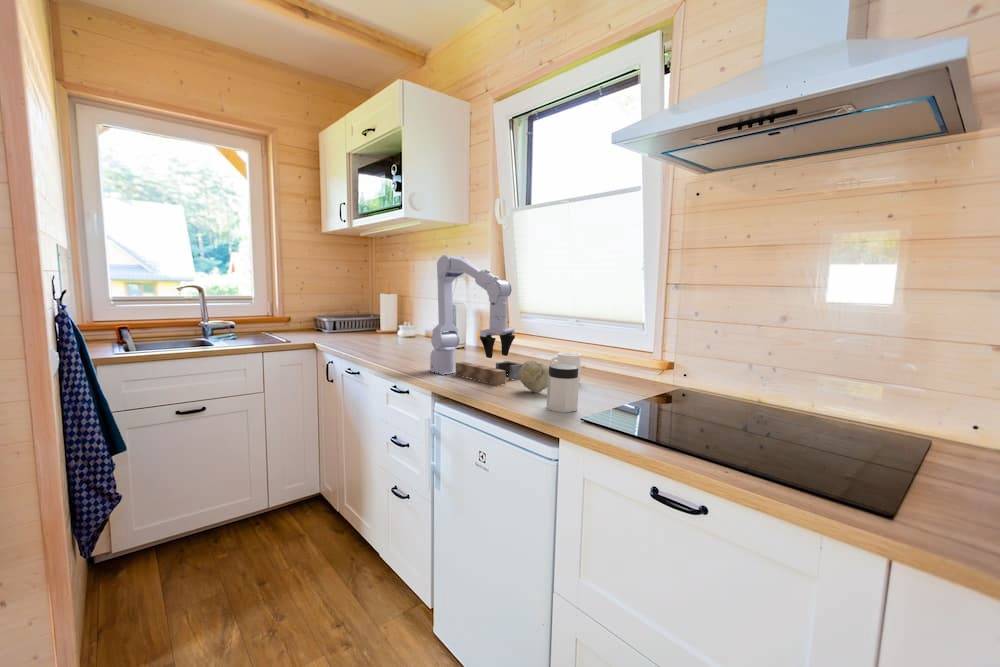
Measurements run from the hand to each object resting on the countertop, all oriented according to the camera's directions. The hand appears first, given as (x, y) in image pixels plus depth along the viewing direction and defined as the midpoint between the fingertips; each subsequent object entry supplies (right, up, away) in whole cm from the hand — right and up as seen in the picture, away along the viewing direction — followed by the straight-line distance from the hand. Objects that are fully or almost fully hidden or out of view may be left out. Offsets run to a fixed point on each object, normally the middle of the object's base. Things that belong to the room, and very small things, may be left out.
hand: (497, 356), depth 149 cm
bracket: (+4, -8, +15) cm, 17 cm away
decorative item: (+12, -11, -7) cm, 18 cm away
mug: (+24, -10, +11) cm, 28 cm away
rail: (-6, -9, +10) cm, 15 cm away
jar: (+18, -14, -25) cm, 34 cm away
